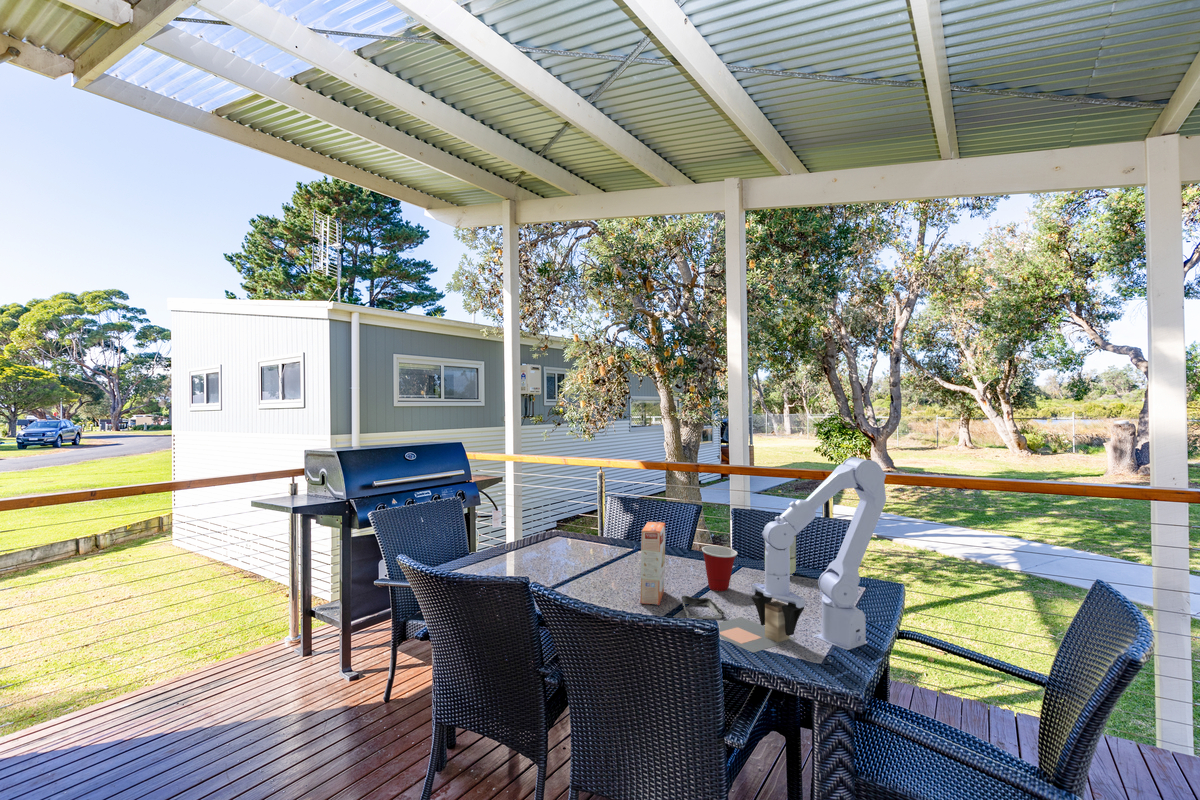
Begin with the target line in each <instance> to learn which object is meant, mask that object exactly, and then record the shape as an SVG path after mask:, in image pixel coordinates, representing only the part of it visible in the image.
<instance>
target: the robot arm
mask: <svg viewBox="0 0 1200 800" xmlns="http://www.w3.org/2000/svg"><path fill="white" fill-rule="evenodd" d="M886 477H887V475H886V473H885V472H884V470H883V468H882V467H881V465H880V464H879V463H878V462H876V461H875V460H872V459H864V458H860V457H857V456H851V457H848V458H846V459H845V460H843V462H842V463H840V464H839V465H837V466H836V468H834V470H833V471H832V473H830V474H829V476H828V477H826V478H825V479H824V480H823V481H822V482H821V484H820V485H818V487H817V488H815V490H813V491H812V493H811V494H809V496H807V498H806V499H797V500H796V501H793V500H791V502H790V503H788V506H789V507H788V508H787V509H786V510H784V511H783V513H781V514H780V515H779V516H778V515H777V516H775V517H774V521H769V522H768V523H767V524H765V526H764V528H763V531H762V532H761V536H762V538H763V540H764V542H765V541H766V552H765V551H764V570H765V572H764V584H763V583H762V584H761V583H759V582H756V583H752V584H751V592H752V593H754V594H752V595H751V600H752V602H753V604H754V606H755V608H756V611H757V613H758V617H759V622H760V623H759V624H761V625H763V626H765V604H766V603H770V602H773V601H772V600H773V599H775V600H776V601H779V602H782V603H785V604H787V605H784V606H782V610H783V613H784V618H785V633H786V635H787V636H793V635H795V631H796V626H797V623H798V621H799V619H800V616H801V615H802V612H803V611H804V610H805V607H806V599H805V598H804V597H802V596H800V595H798V594H796V593H794V592H793V591H791V589H790V588H791V587H790V585H791V581H790V579H791V577H790V546H791V545H792V544H793V541H794V536H795V535H796V536H797V535H798V534H799V533H800V532H802V531H803V530H804V529H805V528H806V527H807V526H808V525H809V524H810V523H811V522H813V520H815V518H816V511H817V510H818V509H819V508H820V507H821V506H823V505H824V504H826V502H828V501H829V500H830V499H831V498H833V497H834V496H836V494H838V493H839V492H840V491H842V490H846V489H847V490H848V489H854V491H855V492H856V494H857V497H858V498H859V502H858V503H857V507H856V509H855V511H854V514H853V517H852V518H851V520H850V523H849V527H848V528H847V531H846V533H845V534H844V535H845V536H844V538H843V541H842V542H841V546H840V548H839V551H838V552H837V555H836V558H835V559H833V560H832V561H830V562H829V564H828V566H827V568H826V569H825V571H823V572H822V573H821V574H820V576H819V578H818V580H817V585H818V588H819V590H820V591H821V593H822V597H821V632H820V633H817V634H815V635H813V638H814V639H817V640H820V641H823V642H825V643H828V644H830V645H833V646H835V647H838V648H840V649H843V650H846V651H849V650H852V649H854V648H859V647H861V646H863V645H866V644H868V641H867V640H866V638H867V636H866V635H867V634H866V632H867V631H866V630H867V629H866V628H867V626H866V622H867V621H866V615H865V612H864V611H863V610H861V609H859V608H858V607H856V605H854V604H855V603H856V602H857V600H858V597H859V589H858V588H859V584H860V582H861V579H860V573H859V567H860V565H861V563H862V561H863V558H864V556H865V554H866V552H867V549H868V546H869V544H870V542H871V539H872V537H873V535H874V531H875V529H876V527H877V525H878V522H879V520H880V517H881V515H882V512H883V509H884V507H885V506H886V502H887V495H886V487H885V479H886Z"/></svg>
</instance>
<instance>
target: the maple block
mask: <svg viewBox="0 0 1200 800" xmlns="http://www.w3.org/2000/svg"><path fill="white" fill-rule="evenodd" d="M784 605H788V603H785V602H782V601H779V600H775V601H771V602H770V603H766V604H765V625H764V626H765V637H766V638H769V639H771V640H773V641H776V642H781V641H784V640H788V639H789V636H787V635H786V633H785V618H784V613H783V610H782V606H784Z"/></svg>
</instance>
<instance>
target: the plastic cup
mask: <svg viewBox="0 0 1200 800" xmlns="http://www.w3.org/2000/svg"><path fill="white" fill-rule="evenodd" d="M701 551H702V552H703V560H704V565H705V570H706V572H705V573H706V578H707V583H708V585H707V586H708V588H709V589H710V590H712V591H716V592H726V591H728V590H729V587H730V582H731V578H732V571H733V567H734V562H735V559H736V557H737V556H738V554H739V553H738V551H736V550H735V549H733V548H729V547H727V546H722V545H706V546H703V547H701ZM727 589H728V590H727ZM725 590H726V591H725Z"/></svg>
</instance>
